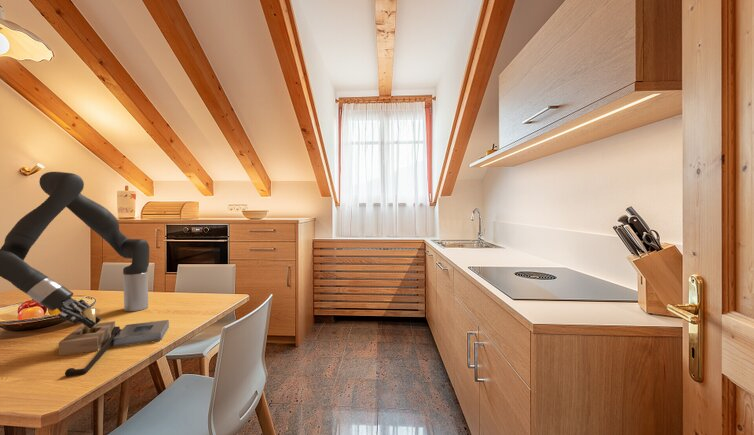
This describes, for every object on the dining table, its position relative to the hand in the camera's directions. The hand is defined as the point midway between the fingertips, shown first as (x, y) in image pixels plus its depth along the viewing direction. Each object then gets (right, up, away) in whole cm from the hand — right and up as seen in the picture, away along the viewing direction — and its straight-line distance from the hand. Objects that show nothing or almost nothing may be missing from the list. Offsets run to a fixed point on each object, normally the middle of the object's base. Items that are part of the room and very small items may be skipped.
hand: (96, 323), depth 116 cm
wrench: (+8, -8, -9) cm, 14 cm away
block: (+13, -7, +6) cm, 16 cm away
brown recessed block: (-2, -7, -1) cm, 7 cm away
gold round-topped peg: (-2, -5, -1) cm, 5 cm away
